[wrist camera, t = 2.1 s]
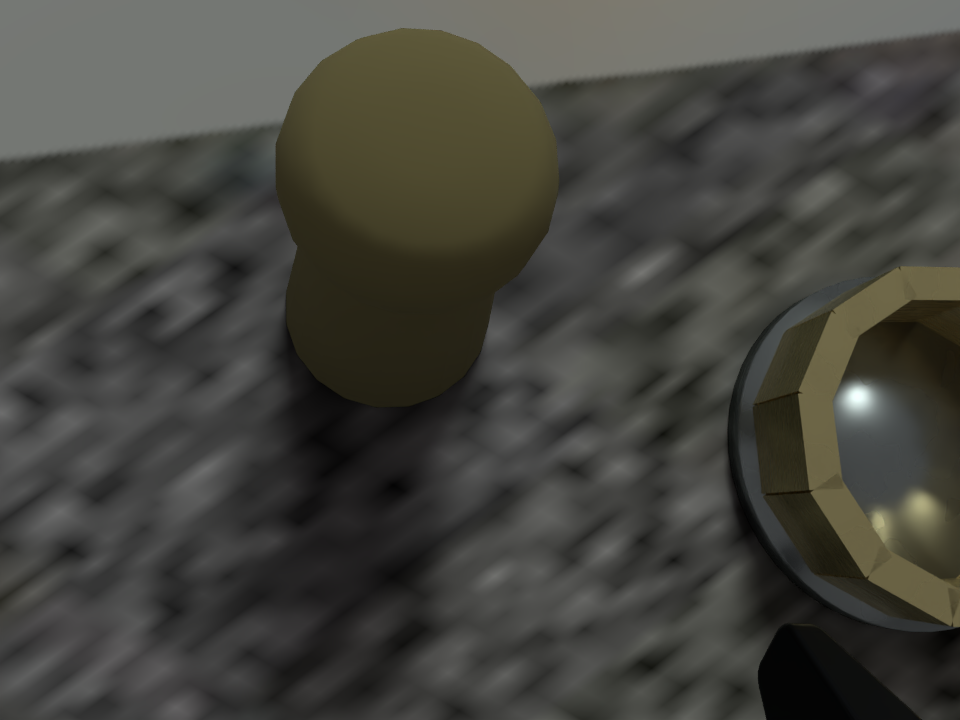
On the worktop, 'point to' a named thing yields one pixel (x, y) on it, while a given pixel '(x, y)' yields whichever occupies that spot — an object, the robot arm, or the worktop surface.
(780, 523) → the collar socket
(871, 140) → the worktop surface
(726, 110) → the worktop surface
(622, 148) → the worktop surface
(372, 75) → the cork
